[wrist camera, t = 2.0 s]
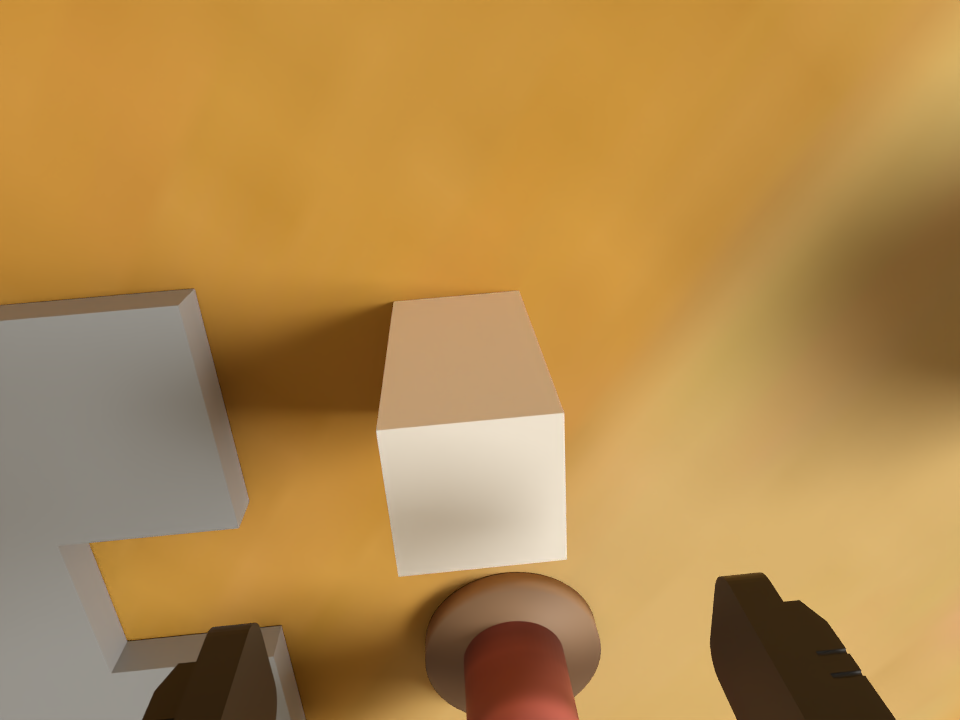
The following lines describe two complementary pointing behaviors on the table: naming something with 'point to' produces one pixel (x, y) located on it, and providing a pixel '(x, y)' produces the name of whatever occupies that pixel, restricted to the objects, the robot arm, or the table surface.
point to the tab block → (470, 437)
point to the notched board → (105, 494)
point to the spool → (513, 648)
